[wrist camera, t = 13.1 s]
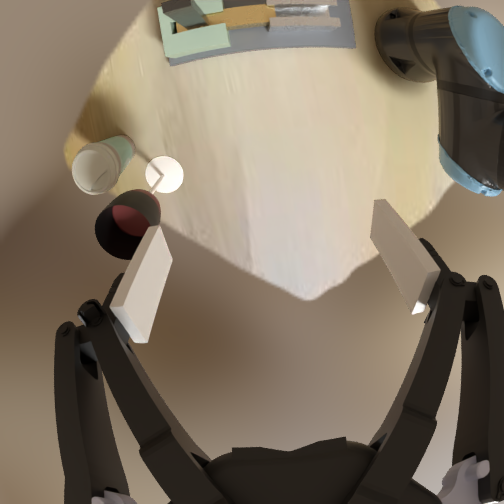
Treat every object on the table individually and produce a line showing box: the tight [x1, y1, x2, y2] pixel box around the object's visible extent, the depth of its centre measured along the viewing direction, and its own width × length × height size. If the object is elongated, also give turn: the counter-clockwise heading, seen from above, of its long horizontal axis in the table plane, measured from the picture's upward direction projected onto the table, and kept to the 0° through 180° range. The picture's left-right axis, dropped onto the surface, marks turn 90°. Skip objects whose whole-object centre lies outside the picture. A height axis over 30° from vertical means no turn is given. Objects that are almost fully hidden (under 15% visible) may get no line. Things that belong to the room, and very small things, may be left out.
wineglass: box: [95, 156, 183, 260], centre depth 39 cm, size 8×9×20 cm
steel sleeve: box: [264, 0, 341, 32], centre depth 27 cm, size 10×5×5 cm, turn 98°
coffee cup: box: [72, 135, 135, 195], centre depth 39 cm, size 9×8×12 cm
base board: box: [168, 0, 356, 66], centre depth 30 cm, size 30×11×2 cm, turn 98°
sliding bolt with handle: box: [161, 0, 276, 33], centre depth 23 cm, size 14×3×15 cm, turn 98°
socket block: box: [157, 0, 231, 58], centre depth 28 cm, size 9×9×5 cm
